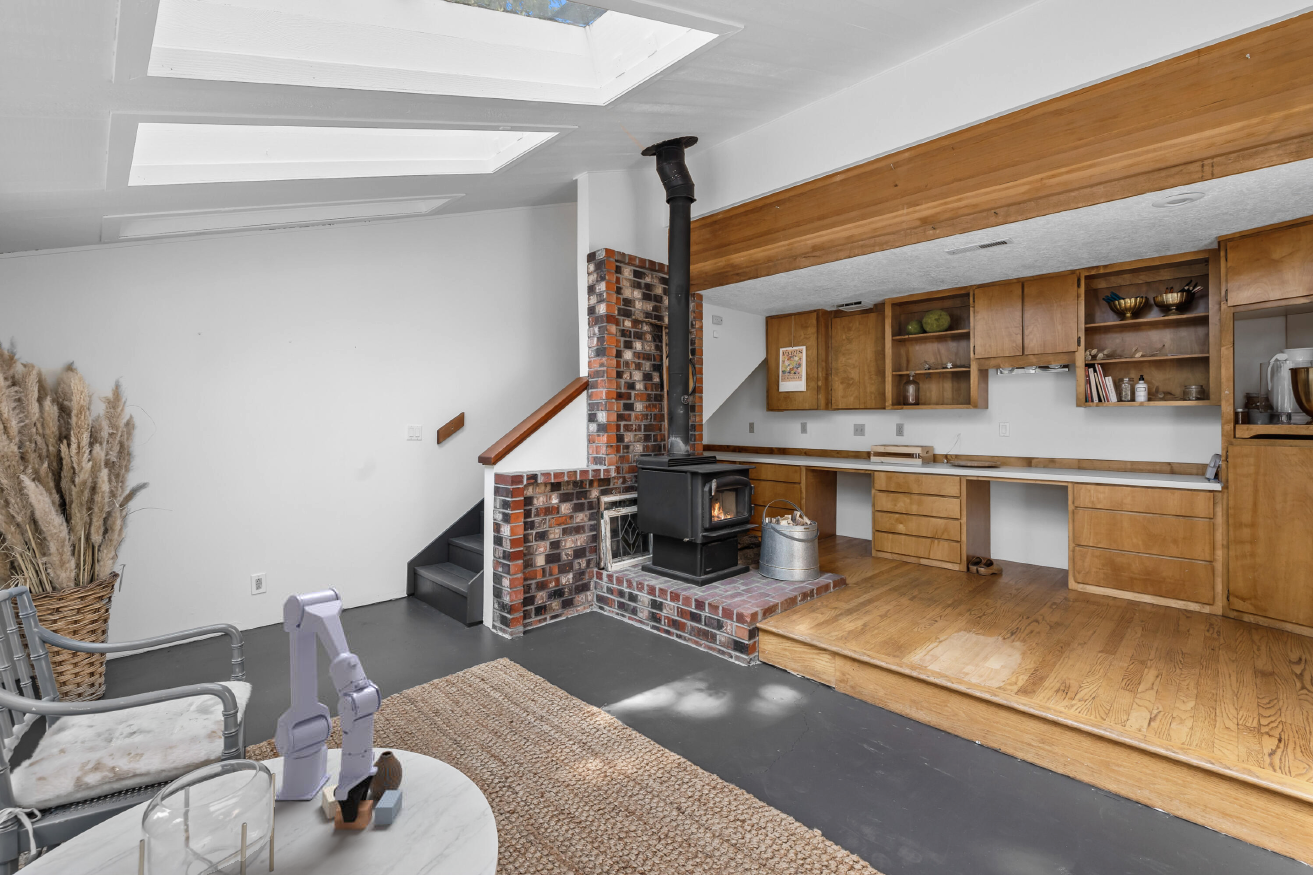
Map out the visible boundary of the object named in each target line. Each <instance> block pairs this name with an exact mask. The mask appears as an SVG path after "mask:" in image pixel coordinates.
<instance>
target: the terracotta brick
mask: <svg viewBox="0 0 1313 875" xmlns="http://www.w3.org/2000/svg"><path fill="white" fill-rule="evenodd" d="M373 805H374V800H372V799H371V800H370V799H368V800H367V799H366V800H362V801H360V804H359V809H358V814H357V818H356V821H355V822H352V823H344V820H343V816H342V812H341V808H340V805H339V807H338V808H337V809H336V811H335V817H334V828H333V829H334V830H346V829H347V830H353V829H354V830H355V829H356V830H358V829H366V828H367V827H368V825H369V824H370V822H371V820H372V819H373V811H374V810H373Z"/></svg>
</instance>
